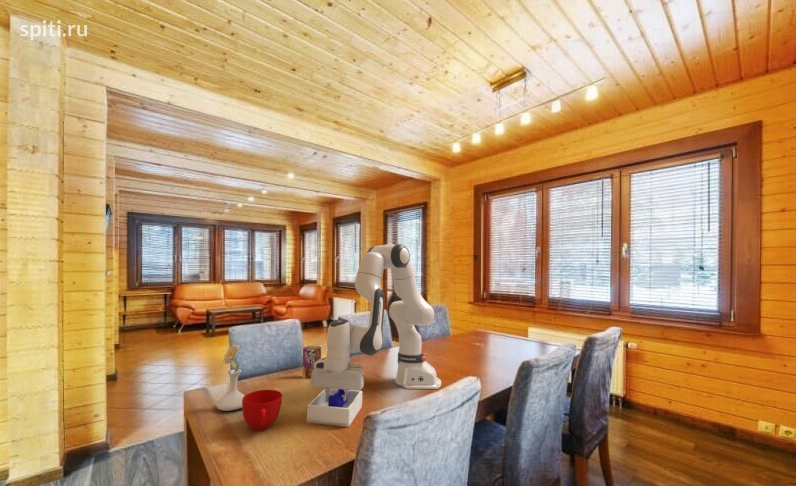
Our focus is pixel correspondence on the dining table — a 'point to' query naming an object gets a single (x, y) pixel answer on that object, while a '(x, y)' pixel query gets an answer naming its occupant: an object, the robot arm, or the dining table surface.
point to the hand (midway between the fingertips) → (336, 400)
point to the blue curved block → (337, 399)
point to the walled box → (334, 409)
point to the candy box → (310, 359)
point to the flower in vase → (233, 396)
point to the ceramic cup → (261, 408)
